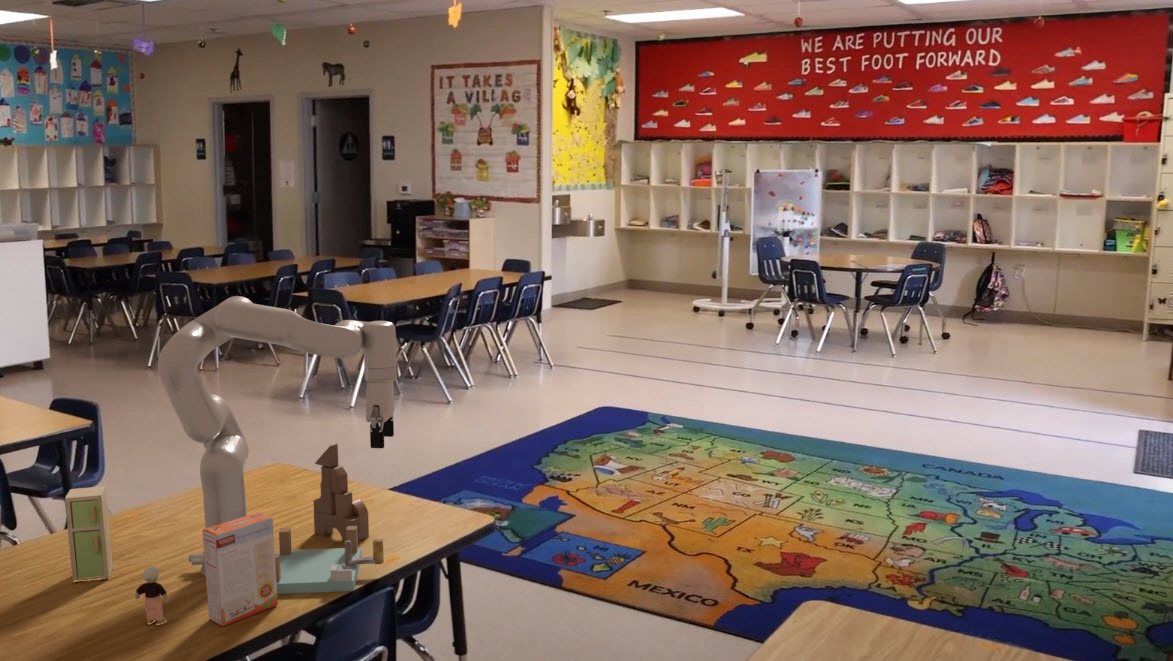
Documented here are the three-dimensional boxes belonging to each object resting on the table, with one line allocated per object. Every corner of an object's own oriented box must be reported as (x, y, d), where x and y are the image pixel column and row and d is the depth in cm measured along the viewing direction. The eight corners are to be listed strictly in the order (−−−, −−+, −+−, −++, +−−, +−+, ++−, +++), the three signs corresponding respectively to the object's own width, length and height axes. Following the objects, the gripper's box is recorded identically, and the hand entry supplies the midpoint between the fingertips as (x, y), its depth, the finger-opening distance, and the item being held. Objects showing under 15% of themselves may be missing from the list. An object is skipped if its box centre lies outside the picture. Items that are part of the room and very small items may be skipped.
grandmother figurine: (175, 618, 229) (171, 563, 227) (169, 626, 226) (165, 570, 223) (139, 618, 229) (135, 563, 227) (132, 626, 225) (128, 570, 223)
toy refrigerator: (71, 584, 246) (63, 498, 242) (77, 572, 253) (70, 488, 249) (108, 581, 248) (101, 495, 244) (113, 569, 255) (106, 485, 251)
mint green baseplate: (264, 594, 242) (262, 559, 240) (279, 560, 261) (277, 527, 260) (353, 590, 244) (352, 556, 242) (361, 557, 263) (360, 524, 262)
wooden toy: (370, 536, 277) (367, 444, 272) (352, 544, 271) (349, 450, 267) (328, 524, 285) (324, 435, 281) (309, 532, 280) (305, 441, 275)
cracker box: (263, 598, 240) (259, 510, 236) (278, 606, 236) (274, 516, 232) (206, 619, 229) (201, 527, 225) (222, 627, 225) (216, 534, 221)
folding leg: (344, 565, 251) (343, 543, 250) (345, 561, 253) (345, 539, 252) (383, 564, 252) (382, 542, 251) (383, 560, 254) (383, 538, 253)
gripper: (374, 364, 261) (375, 431, 265) (355, 380, 244) (357, 452, 248) (404, 365, 261) (405, 432, 264) (387, 381, 244) (389, 453, 247)
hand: (382, 442), depth 256 cm, fingers open, 9 cm apart
